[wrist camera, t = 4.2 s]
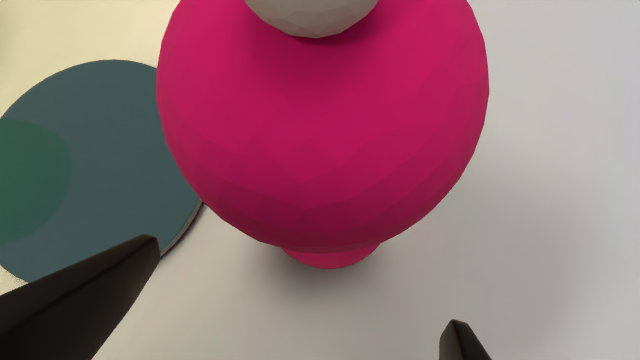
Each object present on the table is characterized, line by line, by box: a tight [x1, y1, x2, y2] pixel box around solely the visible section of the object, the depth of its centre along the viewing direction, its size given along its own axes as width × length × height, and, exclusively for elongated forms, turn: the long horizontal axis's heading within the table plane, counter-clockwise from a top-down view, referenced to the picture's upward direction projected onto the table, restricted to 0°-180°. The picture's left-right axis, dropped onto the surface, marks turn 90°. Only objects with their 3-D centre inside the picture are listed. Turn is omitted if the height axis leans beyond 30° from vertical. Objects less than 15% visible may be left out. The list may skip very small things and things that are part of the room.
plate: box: [0, 60, 203, 283], centre depth 23 cm, size 17×17×1 cm
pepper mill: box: [156, 0, 489, 269], centre depth 12 cm, size 7×7×20 cm
